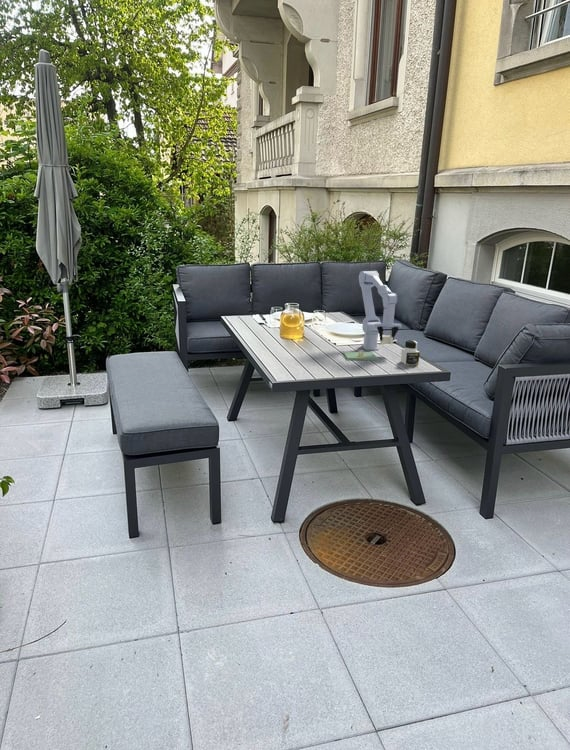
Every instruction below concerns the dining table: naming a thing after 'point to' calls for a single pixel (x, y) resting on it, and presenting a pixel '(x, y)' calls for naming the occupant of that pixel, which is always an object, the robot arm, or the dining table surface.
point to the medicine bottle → (410, 353)
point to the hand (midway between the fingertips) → (386, 340)
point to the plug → (387, 340)
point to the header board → (360, 355)
